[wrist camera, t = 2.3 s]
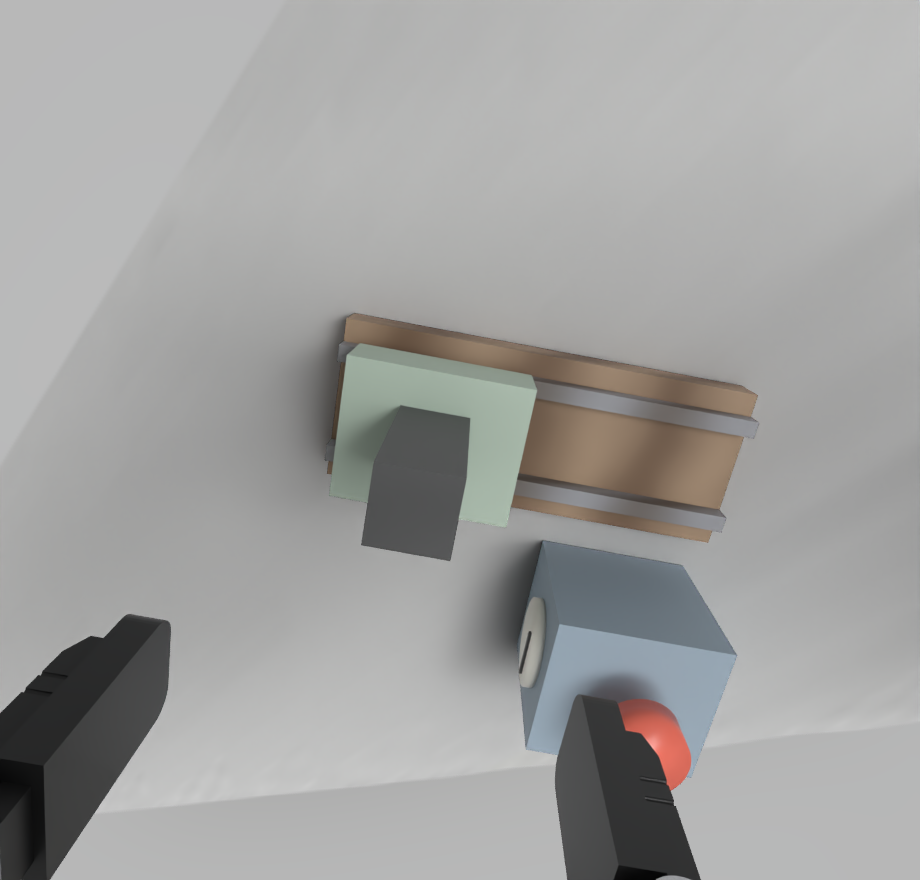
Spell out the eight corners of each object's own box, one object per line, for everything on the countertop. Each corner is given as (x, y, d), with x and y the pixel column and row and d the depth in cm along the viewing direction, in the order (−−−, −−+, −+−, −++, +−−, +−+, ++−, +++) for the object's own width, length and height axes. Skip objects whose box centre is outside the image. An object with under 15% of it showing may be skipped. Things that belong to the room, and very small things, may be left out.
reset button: (690, 706, 27) (702, 735, 25) (666, 773, 28) (676, 803, 26) (606, 692, 27) (614, 719, 25) (585, 759, 28) (591, 789, 26)
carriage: (531, 375, 29) (555, 442, 20) (503, 501, 31) (513, 617, 22) (360, 343, 29) (301, 395, 20) (343, 471, 31) (281, 576, 22)
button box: (682, 565, 36) (737, 655, 28) (648, 668, 38) (690, 777, 30) (533, 538, 35) (547, 621, 28) (508, 643, 38) (514, 747, 30)
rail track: (741, 385, 32) (767, 400, 30) (695, 526, 35) (714, 551, 32) (354, 313, 32) (341, 320, 29) (335, 460, 34) (322, 480, 32)
